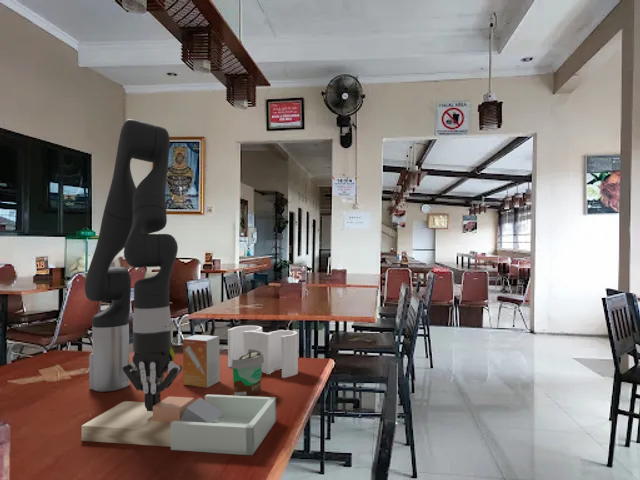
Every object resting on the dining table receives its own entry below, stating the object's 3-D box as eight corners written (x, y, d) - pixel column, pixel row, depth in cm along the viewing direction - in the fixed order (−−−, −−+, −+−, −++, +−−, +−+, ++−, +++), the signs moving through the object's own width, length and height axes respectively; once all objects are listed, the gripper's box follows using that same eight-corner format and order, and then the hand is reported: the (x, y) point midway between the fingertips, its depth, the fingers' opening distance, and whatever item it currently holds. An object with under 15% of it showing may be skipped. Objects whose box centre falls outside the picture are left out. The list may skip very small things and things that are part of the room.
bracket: (305, 371, 135) (304, 331, 135) (284, 379, 127) (284, 337, 127) (247, 360, 150) (246, 324, 150) (225, 366, 142) (224, 329, 142)
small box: (182, 385, 123) (182, 338, 123) (196, 378, 129) (196, 334, 129) (207, 388, 120) (206, 340, 120) (220, 381, 126) (219, 335, 126)
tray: (170, 449, 84) (170, 423, 84) (207, 416, 100) (207, 394, 100) (252, 455, 81) (252, 428, 81) (276, 420, 97) (276, 397, 97)
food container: (255, 401, 109) (255, 361, 109) (232, 400, 110) (231, 360, 110) (270, 386, 121) (270, 349, 121) (249, 385, 122) (249, 348, 122)
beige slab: (81, 440, 88) (81, 425, 88) (124, 414, 102) (124, 401, 102) (174, 446, 85) (173, 431, 85) (205, 418, 99) (204, 405, 99)
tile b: (179, 420, 89) (186, 407, 89) (194, 409, 95) (200, 397, 95) (204, 436, 88) (210, 423, 88) (217, 424, 94) (223, 412, 93)
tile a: (152, 421, 90) (152, 406, 90) (168, 410, 96) (168, 396, 96) (179, 423, 89) (179, 408, 89) (194, 411, 95) (193, 397, 95)
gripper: (112, 330, 91) (113, 415, 91) (171, 332, 88) (172, 418, 88) (134, 324, 98) (135, 402, 98) (189, 325, 96) (190, 405, 96)
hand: (152, 409), depth 93 cm, fingers closed
